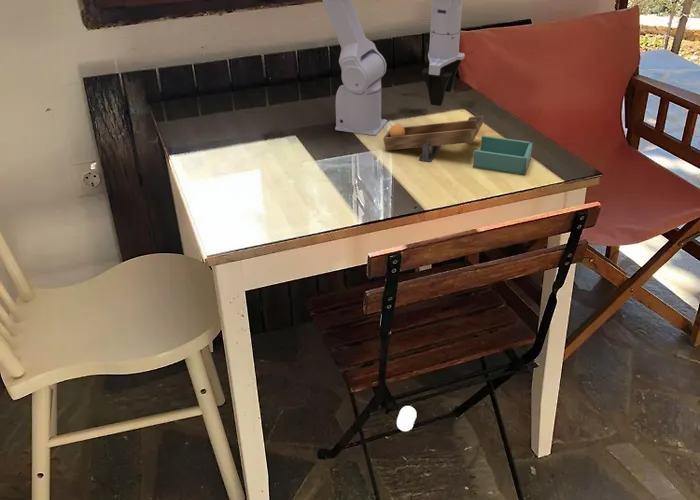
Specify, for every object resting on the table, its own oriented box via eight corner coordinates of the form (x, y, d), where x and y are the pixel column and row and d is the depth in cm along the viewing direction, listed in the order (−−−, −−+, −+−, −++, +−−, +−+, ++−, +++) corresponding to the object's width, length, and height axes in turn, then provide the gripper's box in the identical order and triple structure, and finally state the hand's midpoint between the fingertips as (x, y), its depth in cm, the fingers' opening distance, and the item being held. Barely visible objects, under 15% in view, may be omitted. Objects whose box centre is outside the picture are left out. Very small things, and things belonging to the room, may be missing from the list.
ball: (390, 144, 146) (385, 129, 145) (394, 137, 149) (390, 123, 148) (404, 141, 145) (399, 126, 144) (408, 134, 147) (404, 120, 146)
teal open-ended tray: (472, 167, 140) (474, 151, 138) (480, 151, 146) (482, 135, 144) (524, 175, 137) (526, 158, 135) (530, 158, 143) (532, 142, 141)
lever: (385, 151, 146) (382, 139, 145) (402, 128, 155) (399, 117, 154) (471, 143, 138) (469, 131, 137) (484, 120, 147) (482, 108, 146)
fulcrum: (418, 160, 143) (419, 143, 141) (430, 143, 150) (430, 127, 148) (430, 162, 142) (431, 145, 140) (441, 144, 149) (442, 128, 147)
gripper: (456, 44, 131) (451, 113, 139) (474, 21, 142) (468, 87, 150) (419, 40, 133) (416, 109, 141) (439, 18, 145) (435, 83, 152)
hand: (440, 97), depth 146 cm, fingers open, 7 cm apart
